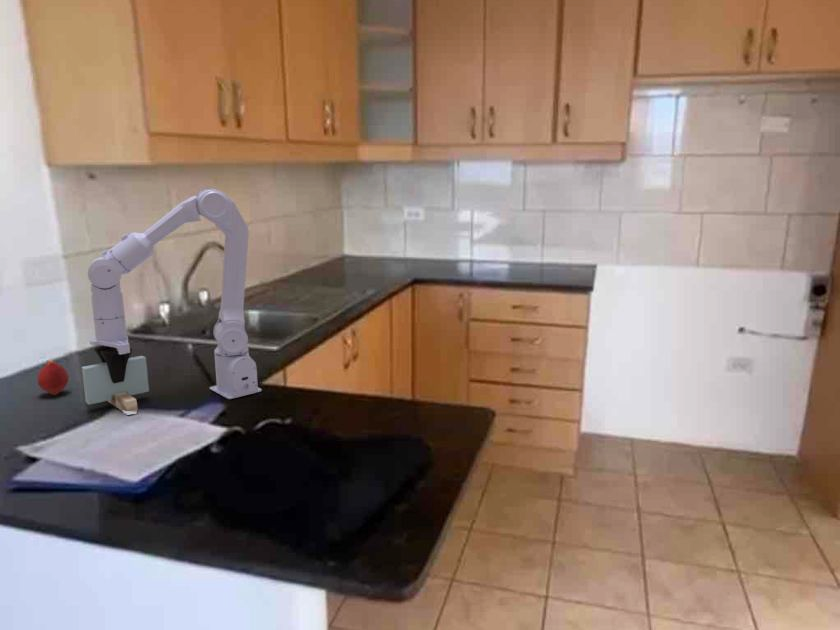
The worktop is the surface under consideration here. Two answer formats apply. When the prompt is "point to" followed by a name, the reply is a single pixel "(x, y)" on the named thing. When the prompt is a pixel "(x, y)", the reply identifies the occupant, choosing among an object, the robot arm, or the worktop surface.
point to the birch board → (124, 401)
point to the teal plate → (102, 386)
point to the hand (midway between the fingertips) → (116, 380)
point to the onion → (52, 378)
